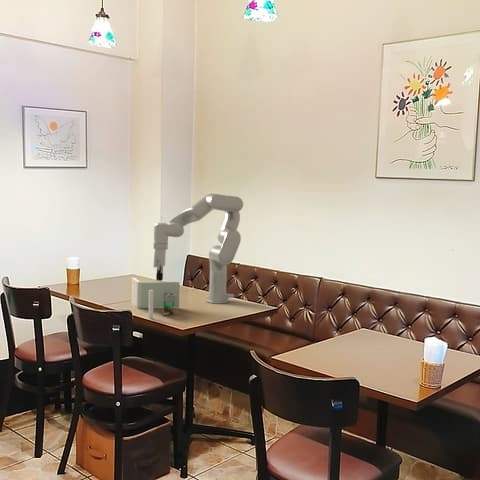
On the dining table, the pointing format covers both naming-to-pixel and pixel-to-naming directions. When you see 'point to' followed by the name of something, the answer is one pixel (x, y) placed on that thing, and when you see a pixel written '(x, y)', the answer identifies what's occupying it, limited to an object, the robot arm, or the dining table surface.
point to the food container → (168, 303)
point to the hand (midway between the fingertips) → (159, 280)
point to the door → (158, 293)
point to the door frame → (137, 296)
